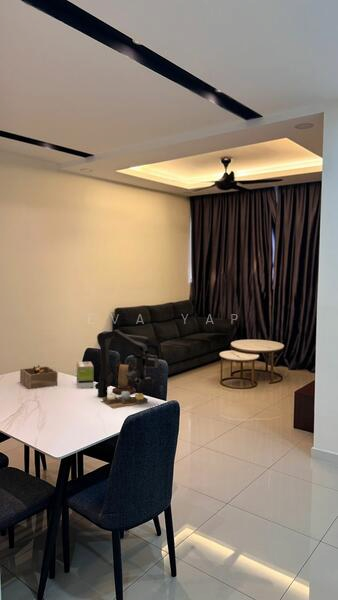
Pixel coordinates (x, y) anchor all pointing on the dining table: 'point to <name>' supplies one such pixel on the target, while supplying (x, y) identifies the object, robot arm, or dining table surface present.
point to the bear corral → (38, 378)
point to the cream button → (111, 396)
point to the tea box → (85, 374)
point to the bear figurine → (38, 370)
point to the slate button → (125, 395)
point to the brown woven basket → (123, 379)
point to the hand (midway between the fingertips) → (139, 392)
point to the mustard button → (139, 396)
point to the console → (123, 402)
